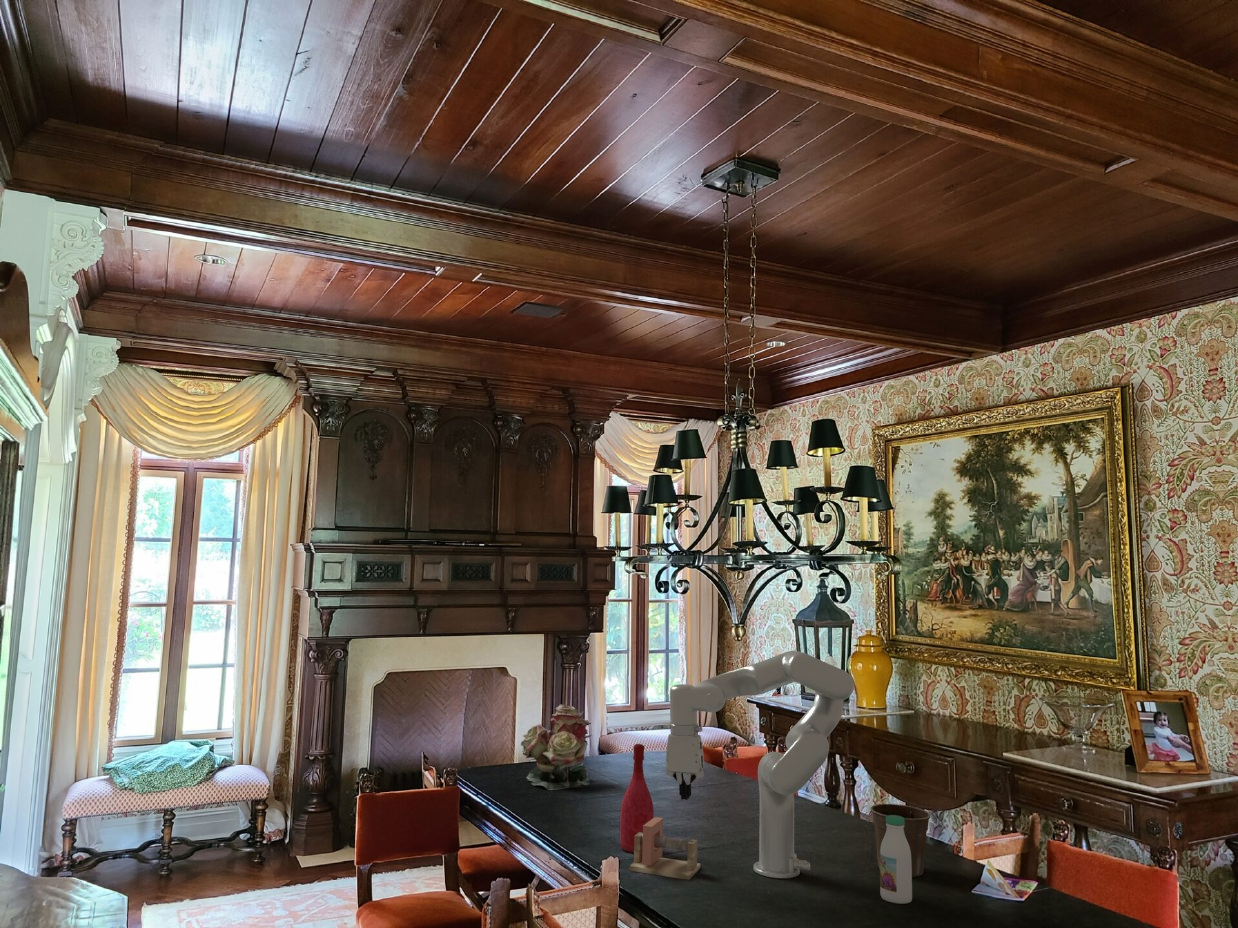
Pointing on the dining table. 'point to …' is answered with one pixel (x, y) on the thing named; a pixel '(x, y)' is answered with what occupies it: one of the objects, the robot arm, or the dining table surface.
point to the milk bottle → (895, 863)
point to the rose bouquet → (558, 750)
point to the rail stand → (663, 864)
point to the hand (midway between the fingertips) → (685, 798)
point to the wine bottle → (635, 803)
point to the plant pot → (913, 830)
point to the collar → (651, 841)
